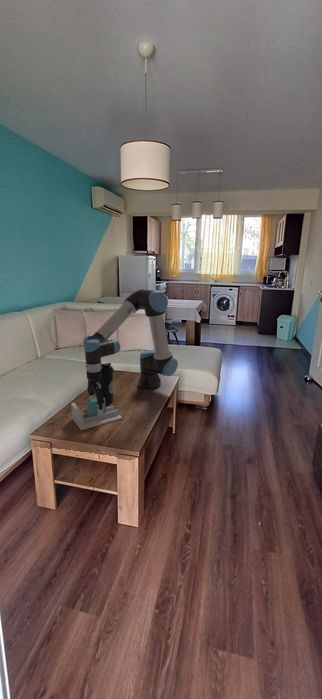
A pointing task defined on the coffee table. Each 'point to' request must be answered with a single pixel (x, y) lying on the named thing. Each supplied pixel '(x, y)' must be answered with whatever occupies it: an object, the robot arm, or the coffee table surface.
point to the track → (93, 417)
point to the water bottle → (107, 382)
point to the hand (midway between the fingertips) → (96, 410)
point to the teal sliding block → (94, 407)
